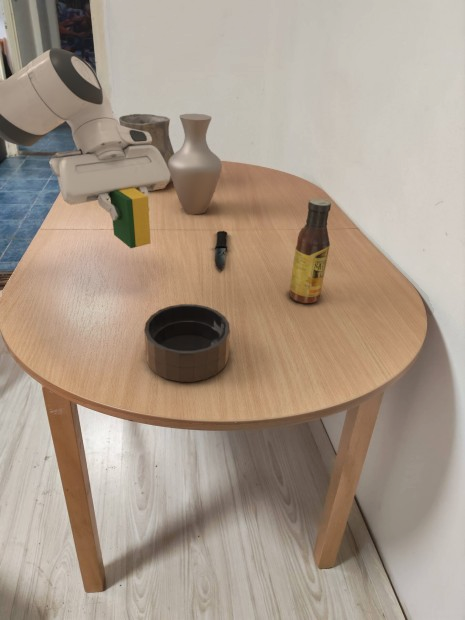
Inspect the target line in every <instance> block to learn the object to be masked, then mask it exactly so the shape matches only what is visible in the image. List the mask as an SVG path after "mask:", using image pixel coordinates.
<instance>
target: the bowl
mask: <svg viewBox="0 0 465 620" xmlns="http://www.w3.org/2000/svg"><path fill="white" fill-rule="evenodd" d="M143 332H144V333H143V334H144V345H145V346H144V347H145V359H146V362H147V364H148V367H149V368H150V369H151V370H152V371H153V372H154V373H155V374H156V375H159V376H160V377H162V378H164V379H167V380H171V381H174V382H175V381H176V382H180V383H181V382H183V383H184V382H186V383H187V382H188V383H189V382H190V383H191V382H197V381H202V380H206V379H209V378H211V377H214V376H215V375H217V374H219V372H221V371H222V370H223V369H224V368H225V367H226V365H227V362H228V360H229V355H230V354H229V353H230V337H231V336H230V335H231V328H230V321H228V319H227V318H226V316H225V315H223V314H222V313H221V312H220V311H218V310H217V309H214V308H211V307H210V306H206V305H201V304H196V303H180V304H174V305H169V306H167V307H164V308H161V309H159V310H157V311H156V312H154V313H153V314H151V315H150V316H149V317H148V319H147V321H145V324H144V329H143Z"/></svg>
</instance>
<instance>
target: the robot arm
mask: <svg viewBox="0 0 465 620" xmlns="http://www.w3.org/2000/svg"><path fill="white" fill-rule="evenodd" d="M65 122H66V123H67V124H68V125H69V127H70V129H71V136H72V139H73V142H74V144H75V147H76V149H74V150H72V149H71V150H68V151H57V152H55V153H54V155H52V156H50V157H49V160H48V162H49V166H50V169H51V171H52V173H53V174H54V176H56V177H57V181H58V186H59V190H60V193H61V197H62V199H63V201H64V202H65V203H67V204H68V205H70V206H72V205H73V206H75V205H80V204H85V203H89V202H95V201H97V202H98V205H99V206H100V207H101V208H102V209H103V210H105V211H106V212H107V213H109V215H110V217H111V220H112V221H113V220H118V219H121V217H122V213H121V211H120V208H119V207H114V206H113V205H112V204H111V201H109V199H110V192H111V191H117V190H122V189H128V188H135V189H137V190H138V191H140V192H142V193H143V194H145V195H147V196H148V195H149V192H151V191H156V190H162V189H165V188H166V187H167V185H169V184H168V182H169V180H170V176H171V175H170V172H169V169H168V167H167V165H166V163H165V161H164V159H163V157H162V155H161V153H160V152H159V150H158V149H157V148H156V147H154V146H152V145H151V142H152V138H151V135H150V134H149V133H148V132H145V131H140V130H135V129H131V128H127V127H124V126H121V125H120V121H119V119H117V118H116V117H115V115H114V113H113V108H112V103H111V101H110V98H109V97H108V94H107V92H106V90H105V88H104V85H103V84H102V82H101V80H100V79H99V77H98V75H97V74H96V72H95V71H94V69H93V67H92V66H91V65H90V64H89V63H88V62H87V61H86V60H85V59H83V58H82V57H81V56H79V54H76V53H74V52H71V51H69V50H66V49H63V48H59V47H51V48H50V49H48V50H46V51H44V52H42V53H41V54H39V55H38V56H37V57H35V58H34V59H32V60H31V61H29V63H27V65H25V66H24V67H22V68H21V69H19V70H17V71H16V72H15V73H13V74H12V75H11V76H9V77H8V78H6V79H2V78H0V139H2V140H4V141H5V142H7V143H10V144H13V145H17V146H21V147H32V146H34V145H35V144H37V143H38V142H39V141H40V140H42V139H43V138H44V137H46V135H47V134H48V133H49V132H51V131H52V130H54V129H56V128H57V127H58V126H59V127H60V125H62V124H63V123H65ZM148 197H149V196H148Z"/></svg>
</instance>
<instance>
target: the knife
mask: <svg viewBox="0 0 465 620" xmlns="http://www.w3.org/2000/svg"><path fill="white" fill-rule="evenodd" d="M227 236H228V232H227V231H225V230H220V231H219V230H218V231H217V232H216V242H215V243H216V244H215V246H214V250H215V251H214V253H215V254H214V264H215V267H216V268H217V269H218V270H219V271H220V272H222V271H223V268H224V266H225V265H226V251H227V250H228V246H227V241H228V240H227V239H228V237H227Z"/></svg>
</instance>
